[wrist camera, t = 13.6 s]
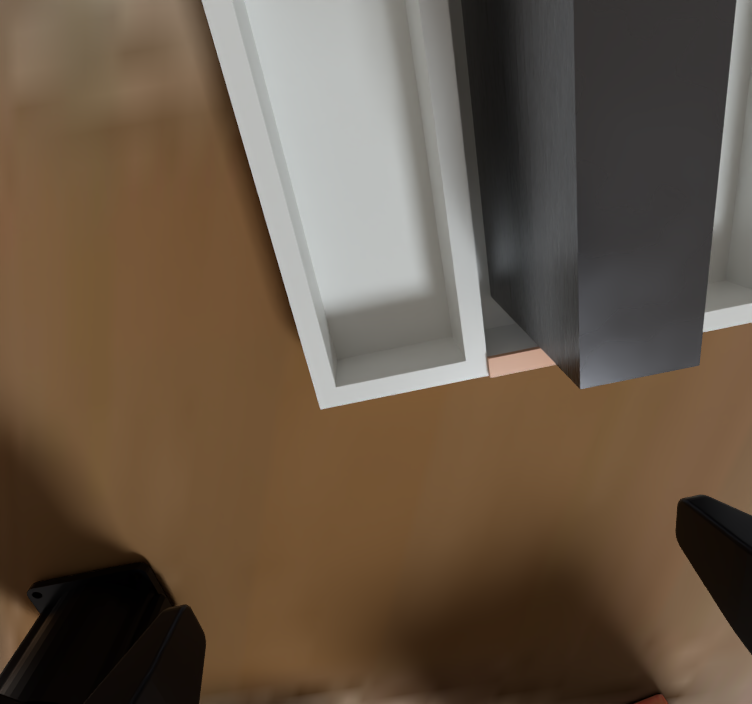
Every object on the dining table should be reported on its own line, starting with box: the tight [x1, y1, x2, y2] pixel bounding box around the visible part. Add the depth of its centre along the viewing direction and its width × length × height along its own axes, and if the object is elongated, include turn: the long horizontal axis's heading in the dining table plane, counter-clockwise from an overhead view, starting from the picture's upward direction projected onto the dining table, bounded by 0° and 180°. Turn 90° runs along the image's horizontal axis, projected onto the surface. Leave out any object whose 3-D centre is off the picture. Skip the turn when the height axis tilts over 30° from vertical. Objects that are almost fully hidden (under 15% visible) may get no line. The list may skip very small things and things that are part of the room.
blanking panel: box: [461, 0, 736, 389], centre depth 12 cm, size 3×14×8 cm, turn 11°
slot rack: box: [202, 0, 752, 409], centre depth 15 cm, size 18×19×3 cm
